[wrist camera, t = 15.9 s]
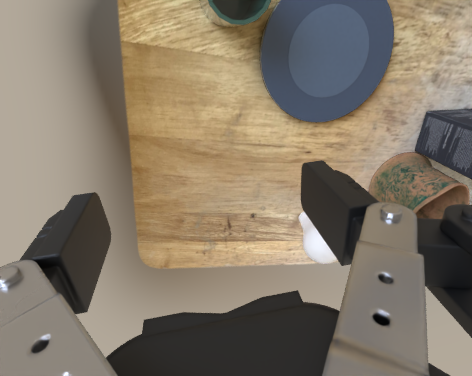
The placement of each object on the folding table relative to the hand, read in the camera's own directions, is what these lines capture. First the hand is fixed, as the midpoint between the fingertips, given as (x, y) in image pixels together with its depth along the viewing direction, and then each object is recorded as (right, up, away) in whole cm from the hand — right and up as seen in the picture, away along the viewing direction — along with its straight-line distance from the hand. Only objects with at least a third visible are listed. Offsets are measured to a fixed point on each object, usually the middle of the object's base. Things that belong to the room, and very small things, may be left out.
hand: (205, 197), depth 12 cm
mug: (+32, -1, +41) cm, 52 cm away
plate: (+13, +18, +27) cm, 35 cm away
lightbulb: (+13, -4, +39) cm, 42 cm away
